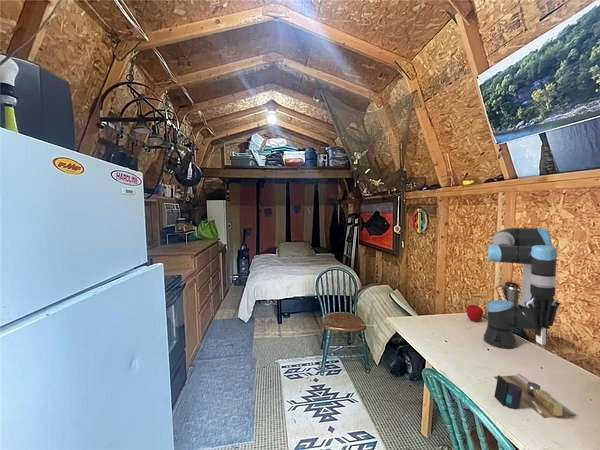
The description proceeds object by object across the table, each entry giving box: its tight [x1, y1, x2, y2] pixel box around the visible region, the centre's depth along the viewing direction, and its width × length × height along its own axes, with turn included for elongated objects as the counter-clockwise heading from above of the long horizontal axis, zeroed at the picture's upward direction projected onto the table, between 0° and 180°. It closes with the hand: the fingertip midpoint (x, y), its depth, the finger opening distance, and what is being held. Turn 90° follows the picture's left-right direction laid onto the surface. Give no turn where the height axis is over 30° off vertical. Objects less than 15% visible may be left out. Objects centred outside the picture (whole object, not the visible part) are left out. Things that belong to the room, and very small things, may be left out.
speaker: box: [493, 374, 522, 410], centre depth 109 cm, size 8×6×10 cm
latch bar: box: [527, 381, 563, 416], centre depth 109 cm, size 15×4×4 cm, turn 172°
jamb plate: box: [493, 373, 577, 419], centre depth 115 cm, size 12×25×2 cm, turn 3°
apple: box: [465, 304, 484, 323], centre depth 190 cm, size 10×10×11 cm
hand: (540, 342), depth 113 cm, fingers closed
